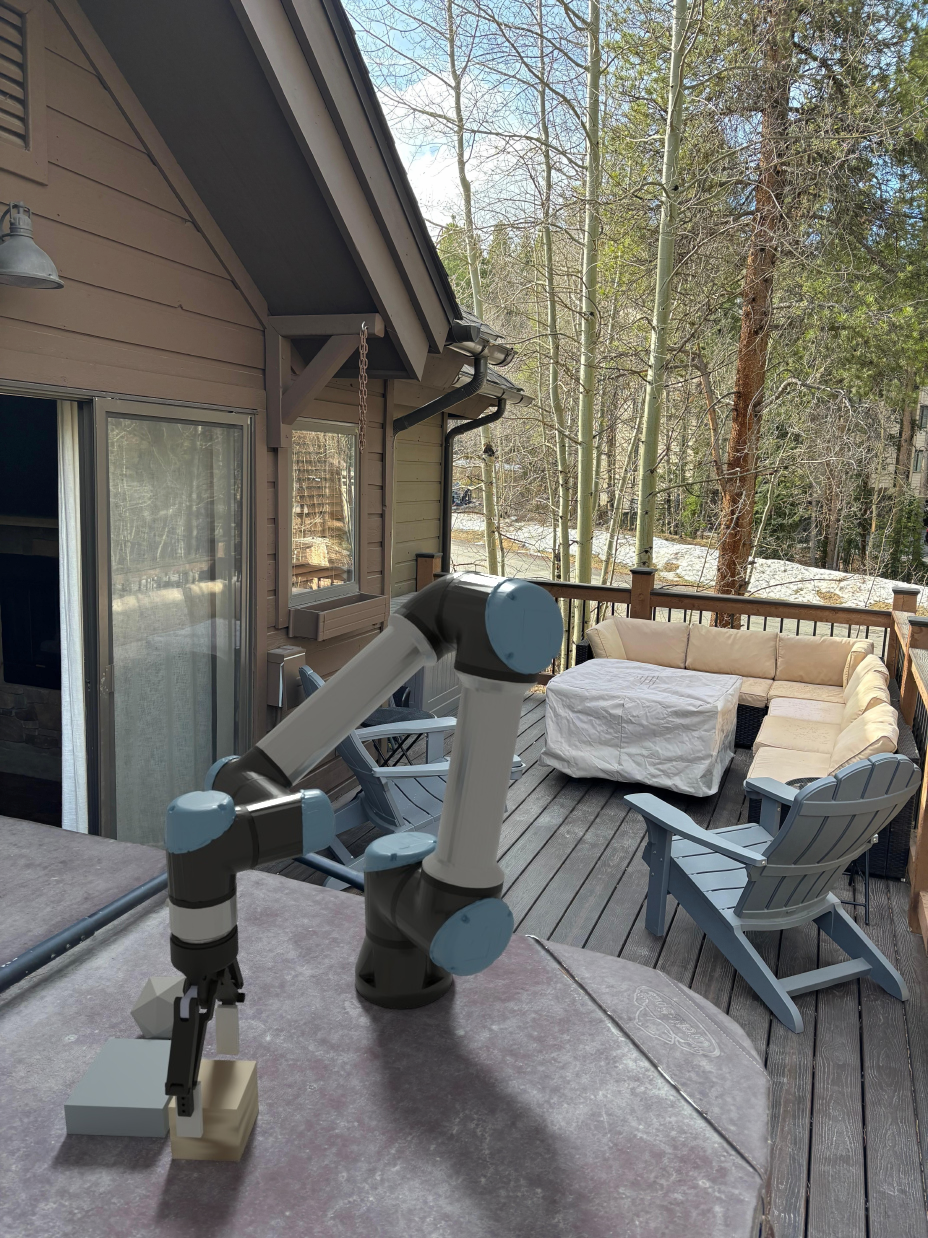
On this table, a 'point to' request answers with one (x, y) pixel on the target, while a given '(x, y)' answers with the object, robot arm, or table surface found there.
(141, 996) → the die
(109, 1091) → the plinth
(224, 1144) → the maple block
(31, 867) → the table surface
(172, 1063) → the robot arm
